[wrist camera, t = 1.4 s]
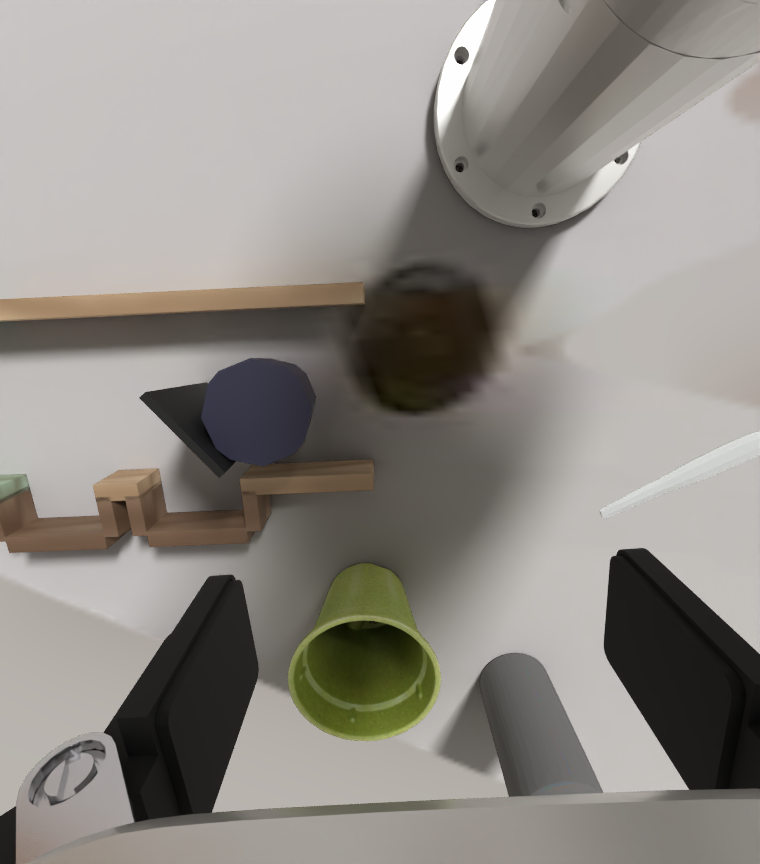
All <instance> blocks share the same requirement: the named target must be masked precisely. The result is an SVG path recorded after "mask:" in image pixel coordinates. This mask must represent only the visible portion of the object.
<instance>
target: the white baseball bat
mask: <svg viewBox="0 0 760 864" xmlns="http://www.w3.org/2000/svg"><path fill="white" fill-rule="evenodd" d="M758 455H760V432H754V433H751V434H749V435H746V436H744V437H741V438H739V439H737V440H734V441H732V442H730V443H727V444H725V445H723V446H721V447H719V448H717V449H715V450H713V451H711V452H709V453H707V454H705V455H703V456H701V457H699V458H697V459H695V460H693V461H691V462H689V463H687V464H685V465H683V466H681V467H680V468H678V469H676V470H674V471H673V472H671V473H669V474H667V475H665V476H663V477H661V478H659V479H658V480H656V481H654V482H652V483H650V484H648V485H646V486H644V487H642V488H640V489H638V490H637V491H635V492H633V493H631V494H629V495H627V496H625V497H624V498H622V499H620V500H618V501H616V502H614V503H612V504H610V505H608V506H606V507H604V508H603V509H601V510H600V513H601V515H602V518H603V519H604V518H607V517H610V516H613V515H615V514H618V513H621V512H623V511H625V510H627V509H630V508H632V507H634V506H637V505H639V504H641V503H643V502H646V501H648V500H650V499H653V498H655V497H657V496H660V495H662V494H665V493H668V492H671V491H673V490H676V489H679V488H682V487H685V486H688V485H691V484H694V483H696V482H699V481H701V480H704V479H706V478H709V477H711V476H713V475H716V474H718V473H721V472H723V471H726V470H728V469H730V468H733V467H735V466H737V465H740V464H742V463H744V462H746V461H748V460H750V459H753V458H755V457H756V456H758Z"/></svg>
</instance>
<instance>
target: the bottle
mask: <svg viewBox="0 0 760 864" xmlns="http://www.w3.org/2000/svg"><path fill="white" fill-rule="evenodd" d="M480 689H481V694H482V698H483V702H484V705H485V709H486V713H487V717H488V721H489V724H490V728H491V732H492V736H493V739H494V743H495V747H496V751H497V754H498V758H499V762H500V765H501V769H502V773H503V776H504V780H505V784H506V788H507V791H508V795H509V797H517V796H539V795H564V794H590V793H603V791H602V789H601V787H600V784H599V782H598V780H597V778H596V776H595V773H594V771H593V769H592V767H591V765H590V763H589V760H588V758H587V756H586V754H585V752H584V750H583V748H582V746H581V743H580V741H579V739H578V737H577V735H576V733H575V731H574V729H573V726H572V724H571V722H570V720H569V718H568V716H567V714H566V712H565V709H564V707H563V705H562V703H561V701H560V699H559V697H558V695H557V693H556V691H555V688H554V686H553V684H552V682H551V680H550V678H549V676H548V674H547V672H546V670H545V668H544V667H543V665H542V664H541V663H540V662H539V661H538V660H537V659H535V658H533V657H531V656H529V655H526V654H520V653H511V654H506V655H502V656H500V657H498V658H496V659H494V660H492V661H491V662H490V663H489V664H488V665H487V666H486V667H485V669H484V670H483V672H482V674H481V677H480Z"/></svg>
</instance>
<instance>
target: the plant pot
mask: <svg viewBox="0 0 760 864" xmlns="http://www.w3.org/2000/svg"><path fill="white" fill-rule="evenodd" d="M370 621H376V623H371V622H370ZM440 684H441V673H440V667H439V664H438V660H437V657H436V655H435V653H434V651H433V649H432V648H431V646H430V645H429V644H428V642H427V641H426V640H425V639H424V638H423V637H422V636H421V634H420V633H419V631H418V630H417V627H416V624H415V621H414V619H413V616H412V613H411V610H410V607H409V603H408V600H407V597H406V594H405V591H404V588H403V585H402V583H401V581H400V580H399V578H398V577H397V576H396V575H395V574H394V573H393V572H392V571H390V570H388V569H385V568H382V567H379V566H377V565H374V564H372V563H362V564H357V565H353V566H351V567H349V568H347V569H345V570H343V571H342V572H341V573H339V574H338V575H337V577H336V578H335V580H334V581H333V583H332V585H331V587H330V589H329V592H328V594H327V597H326V599H325V602H324V605H323V607H322V610H321V612H320V615H319V617H318V620H317V622H316V624H315V627H314V628H313V630H312V631H311V632H310V633H309V634H308V635H307V636H306V637H305V638H304V639H303V640H302V642H301V643H300V644H299V645H298V647H297V649H296V650H295V652H294V654H293V657H292V660H291V662H290V666H289V671H288V686H289V691H290V694H291V697H292V700H293V702H294V704H295V705H296V707H297V708H298V710H299V711H300V712H301V714H302V715H303V716H304V717H305V718H306V719H307V720H308V721H309V722H310V723H312V724H313V725H315V726H316V727H317V728H319V729H320V730H322V731H324V732H326V733H328V734H330V735H333V736H336V737H339V738H342V739H348V740H355V741H357V740H361V741H376V740H382V739H386V738H390V737H392V736H396V735H399V734H401V733H403V732H406V731H407V730H408V729H410V728H412V727H413V726H415V725H417V724H418V723H419V722H420V721H421V720H422V719H424V717H425V716H426V715H427V714H428V712H429V711H430V710H431V708H432V707H433V705H434V704H435V702H436V699H437V697H438V694H439V691H440Z"/></svg>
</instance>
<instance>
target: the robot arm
mask: <svg viewBox="0 0 760 864" xmlns="http://www.w3.org/2000/svg"><path fill="white" fill-rule="evenodd" d="M457 60H461V61H462V62H463V65H460V64H457V62H456V61H457ZM759 61H760V0H487V1H485V2H484V3H483V4H481V6H480V7H479V8H478V9H477V10H476V11H475V12H474V13H473V14H472V15H471V17H470V18H469V19H468V20H467V21H466V22H465V23H464V25H463V27H462V28H461V30H460V31H459V33H458V34H457V36H456V38H455V39H454V41H453V42H452V44H451V47H450V49H449V51H448V54H447V56H446V59H445V61H444V63H443V66H442V69H441V73H440V77H439V80H438V84H437V90H436V97H435V103H434V134H435V139H436V145H437V150H438V154H439V157H440V160H441V162H442V165H443V168H444V171H445V173H446V175H447V176H448V178H449V180H450V181H451V183H452V185H453V186H454V188H455V190H456V191H457V192H458V193H459V194H460V195H461V197H462V198H463V199H464V200H465V201H466V202H467V203H468V204H469V205H470V206H471V207H473V208H474V209H475V210H477V211H478V212H479V213H481V214H482V215H484V216H485V217H488V218H490V219H492V220H494V221H496V222H499V223H501V224H505V225H510V226H515V227H526V228H538V227H543V226H548V225H553V224H557V223H560V222H562V221H564V220H567V219H569V218H572V217H574V216H576V215H578V214H579V213H581V212H583V211H585V210H586V209H588V208H590V207H591V206H593V205H594V204H595V203H596V202H598V201H599V200H600V199H601V198H603V197H604V196H605V195H607V193H608V192H609V191H610V190H611V189H612V188H613V187H614V186H615V185H616V184H617V182H618V181H619V180H620V179H621V178H622V176H623V175H624V174H625V172H626V171H627V169H628V168H629V166H630V165H631V163H632V161H633V160H634V157H635V155H636V153H637V151H638V148H639V146H640V144H641V142H642V141H643V140H644V139H646V138H647V137H648V136H650V135H651V134H653V133H654V132H656V131H657V130H659V129H660V128H662V127H663V126H665V125H666V124H668V123H669V122H671V121H672V120H674V119H675V118H677V117H678V116H680V115H681V114H682V113H684V112H685V111H687V110H688V109H690V108H691V107H693V106H694V105H696V104H697V103H699V102H700V101H702V100H703V99H705V98H706V97H708V96H709V95H711V94H712V93H713V92H715V91H716V90H718V89H719V88H721V87H722V86H724V85H725V84H727V83H728V82H730V81H731V80H733V79H734V78H736V77H737V76H739V75H740V74H742V73H743V72H744V71H746V70H747V69H749V68H750V67H752V66H753V65H755V64H756V63H758V62H759ZM615 159H616V160H617V163H615V161H614V160H615ZM457 165H460V166H462V168H463V171H462V172H457V171H456V169H455V167H456V166H457ZM532 210H536V211H537V217H536V218H535V217H534V216H533V215H532ZM604 650H605V654H606V657H607V659H608V661H609V663H610V664H611V666H612V668H613V669H614V671H615V672H616V674H617V675H618V677H619V679H620V680H621V682H622V683H623V685H624V687H625V688H626V690H627V691H628V693H629V695H630V696H631V698H632V699H633V701H634V702H635V704H636V706H637V707H638V709H639V710H640V712H641V714H642V715H643V717H644V718H645V720H646V722H647V723H648V725H649V726H650V728H651V729H652V731H653V733H654V734H655V736H656V737H657V739H658V741H659V742H660V744H661V745H662V747H663V749H664V750H665V752H666V753H667V755H668V756H669V758H670V760H671V761H672V763H673V764H674V766H675V768H676V769H677V771H678V772H679V774H680V776H681V777H682V779H683V780H684V782H685V783H686V785H687V787H688V788H689V790H666V791H641V792H615V793H590V794H564V795H539V796H517V797H496V798H473V799H453V800H452V799H451V800H430V801H408V802H387V803H368V804H350V805H331V806H314V807H313V806H311V807H293V808H273V809H257V810H244V811H231V812H216V813H212V810H213V807H214V804H215V801H216V798H217V796H218V793H219V790H220V787H221V784H222V781H223V778H224V775H225V772H226V769H227V766H228V763H229V760H230V758H231V755H232V752H233V749H234V746H235V743H236V740H237V737H238V734H239V731H240V729H241V726H242V723H243V720H244V717H245V714H246V711H247V708H248V705H249V702H250V699H251V696H252V693H253V691H254V688H255V685H256V682H257V678H258V660H257V655H256V650H255V645H254V640H253V635H252V630H251V625H250V620H249V615H248V610H247V604H246V599H245V594H244V589H243V585H242V582H241V581H240V580H235V577H234V576H233V575H219V576H210V577H208V579H207V580H206V581H205V583H204V584H203V586H202V588H201V589H200V591H199V592H198V594H197V595H196V597H195V598H194V600H193V601H192V603H191V604H190V606H189V607H188V609H187V610H186V612H185V614H184V615H183V617H182V618H181V620H180V621H179V623H178V624H177V626H176V627H175V629H174V630H173V632H172V633H171V634H170V635H169V636H168V637H167V638H166V639H165V640H164V642H163V643H162V645H161V646H160V648H159V649H158V651H157V652H156V654H155V656H154V657H153V659H152V660H151V662H150V663H149V665H148V666H147V668H146V669H145V671H144V672H143V674H142V675H141V677H140V678H139V680H138V681H137V683H136V684H135V686H134V688H133V689H132V690H131V692H130V693H129V695H128V696H127V698H126V700H125V701H124V702H123V704H122V705H121V707H120V709H119V710H118V712H117V713H116V715H115V716H114V718H113V719H112V721H111V722H110V724H109V725H108V727H107V728H106V730H105V731H104V733H99V732H98V733H97V732H92V733H88V734H83V735H79V736H77V737H75V738H73V739H71V740H69V741H66V742H65V743H63V744H61V745H60V746H58V747H57V748H55V749H54V750H52V751H51V752H49V753H48V754H47V755H46V756H45V757H44V758H43V759H42V760H40V761H39V762H38V763H37V764H36V765H35V767H34V768H33V769H32V771H30V773H29V774H28V775H27V776H26V778H25V780H24V781H23V783H22V785H21V787H20V789H19V792H18V796H17V801H16V806H15V807H14V808H12V809H11V810H9V811H8V812H6V813H5V814H3V815H2V816H0V864H760V654H759V653H758V652H757V651H756V650H755V649H754V648H752V647H751V646H750V645H749V644H748V643H747V642H746V641H745V640H744V639H743V638H742V637H741V636H740V635H738V634H737V633H736V632H735V631H734V630H733V629H732V628H731V627H730V626H729V625H728V624H727V623H726V622H724V621H723V620H722V619H721V618H720V617H719V616H718V615H717V614H716V613H715V612H714V611H713V610H712V609H710V608H709V607H708V606H707V605H706V604H705V603H704V602H703V601H702V600H701V599H700V598H699V597H698V596H696V595H695V594H694V593H693V592H692V591H691V590H690V589H689V588H688V587H687V586H686V585H685V584H684V583H682V582H681V581H680V580H679V579H678V578H677V577H676V576H675V575H674V574H673V573H672V572H671V571H670V570H668V569H667V568H666V567H665V566H664V565H663V564H662V563H661V562H660V561H659V560H658V559H657V558H656V557H654V556H653V555H652V554H651V553H650V552H649V551H648V550H646V549H644V548H638V549H623V550H619V551H618V552H617V555H616V556H613V557H612V558H611V560H610V570H609V583H608V596H607V608H606V621H605V634H604Z"/></svg>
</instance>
